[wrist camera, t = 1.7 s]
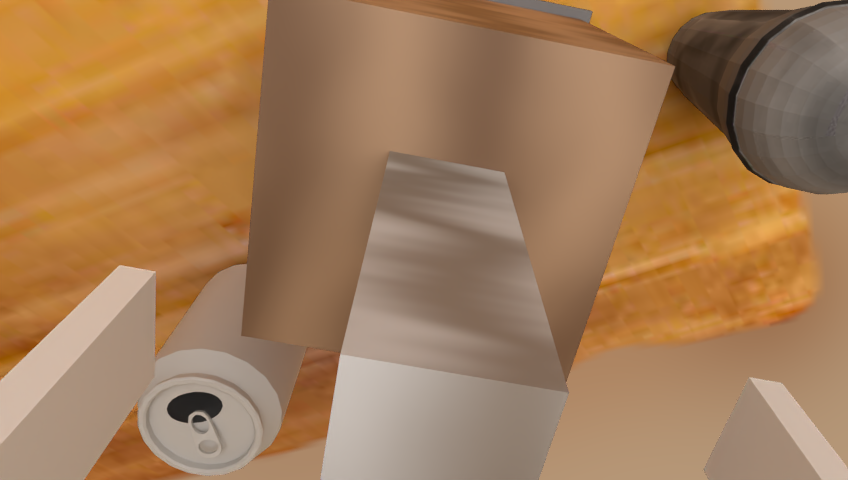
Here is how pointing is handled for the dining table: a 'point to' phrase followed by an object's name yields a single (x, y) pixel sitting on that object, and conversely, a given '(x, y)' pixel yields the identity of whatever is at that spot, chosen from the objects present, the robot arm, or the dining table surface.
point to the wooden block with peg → (441, 219)
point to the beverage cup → (773, 89)
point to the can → (217, 385)
